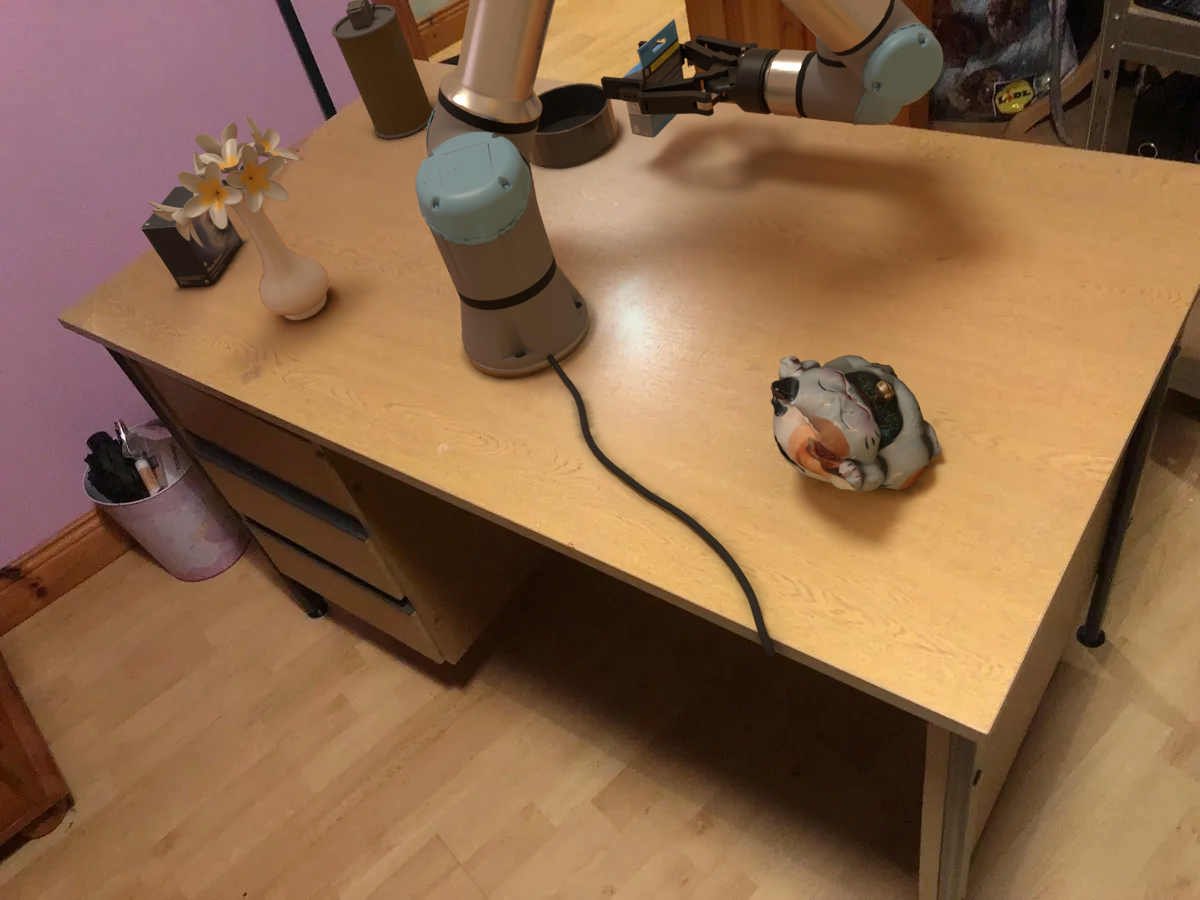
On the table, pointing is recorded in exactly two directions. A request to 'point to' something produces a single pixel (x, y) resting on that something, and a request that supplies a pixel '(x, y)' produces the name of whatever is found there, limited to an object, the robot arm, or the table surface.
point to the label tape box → (655, 77)
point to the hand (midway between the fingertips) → (623, 69)
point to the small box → (192, 244)
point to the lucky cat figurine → (850, 424)
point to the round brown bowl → (573, 126)
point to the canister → (383, 69)
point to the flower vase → (251, 214)
